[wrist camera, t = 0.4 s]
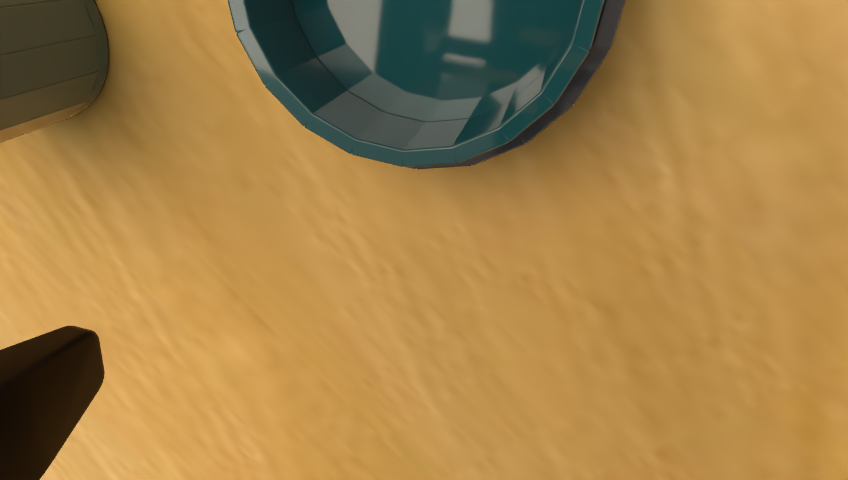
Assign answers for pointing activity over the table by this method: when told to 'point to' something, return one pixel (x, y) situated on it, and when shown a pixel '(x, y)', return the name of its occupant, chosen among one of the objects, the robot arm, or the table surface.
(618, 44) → the table surface
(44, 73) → the teal cup
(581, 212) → the table surface
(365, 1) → the stack top cup
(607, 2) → the stack base cup
